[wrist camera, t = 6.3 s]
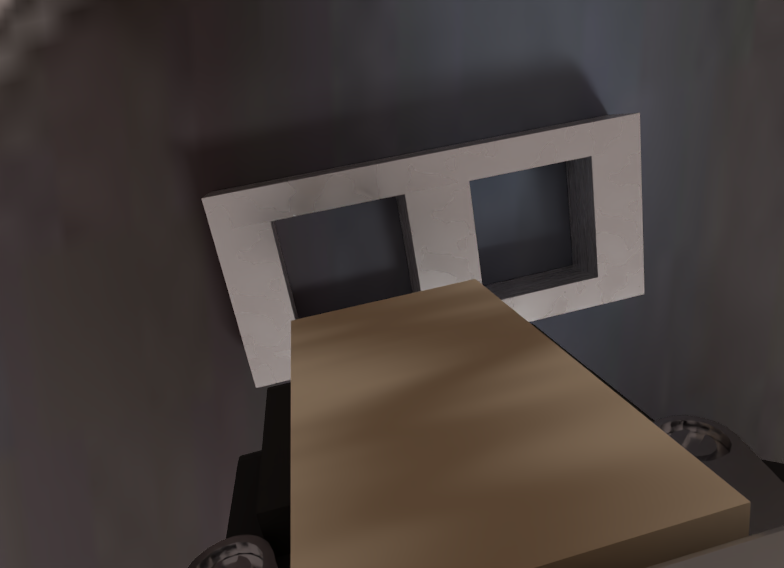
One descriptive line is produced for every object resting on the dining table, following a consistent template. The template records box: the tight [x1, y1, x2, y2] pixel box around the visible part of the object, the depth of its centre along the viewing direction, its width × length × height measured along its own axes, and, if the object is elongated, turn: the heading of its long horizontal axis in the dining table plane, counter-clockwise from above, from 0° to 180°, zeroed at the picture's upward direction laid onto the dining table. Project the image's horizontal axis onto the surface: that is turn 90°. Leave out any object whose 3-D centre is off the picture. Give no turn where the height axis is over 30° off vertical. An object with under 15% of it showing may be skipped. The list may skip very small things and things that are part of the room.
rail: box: [201, 113, 644, 388], centre depth 25 cm, size 20×9×2 cm, turn 100°
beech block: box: [290, 279, 751, 568], centre depth 9 cm, size 4×4×8 cm
